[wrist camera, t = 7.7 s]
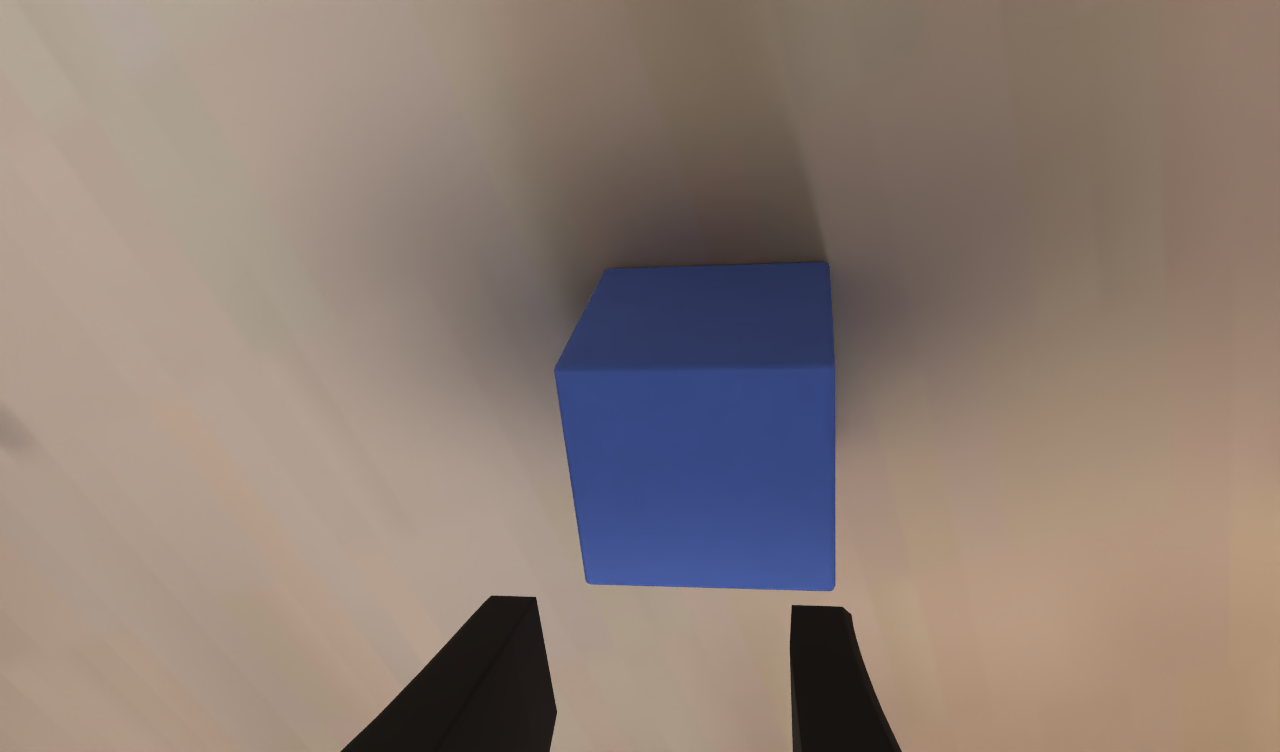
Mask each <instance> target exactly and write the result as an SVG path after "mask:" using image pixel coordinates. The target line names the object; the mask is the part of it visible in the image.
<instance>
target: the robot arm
mask: <svg viewBox="0 0 1280 752" xmlns="http://www.w3.org/2000/svg"><path fill="white" fill-rule="evenodd" d="M790 668H791V702H792V737H793V752H902V751H901V749H900V747H899V745H898V743H897V741H896V738H895V736H894V734H893V732H892V730H891V728H890V726H889V723H888V721H887V719H886V717H885V715H884V713H883V710H882V708H881V706H880V703H879V701H878V699H877V696H876V694H875V691H874V689H873V686H872V683H871V681H870V678H869V676H868V673H867V670H866V668H865V665H864V662H863V659H862V656H861V653H860V650H859V646H858V643H857V639H856V635H855V631H854V627H853V622H852V615H851V614H850V613H849V612H848V611H847V610H845V609H844V608H843V607H833V606H801V605H792V613H791V633H790ZM556 715H557V710H556V704H555V699H554V693H553V688H552V682H551V677H550V671H549V666H548V660H547V655H546V649H545V644H544V638H543V633H542V628H541V622H540V617H539V611H538V606H537V600H536V597H518V596H491V597H489V598H488V599H487V600H486V601H485V602H484V603H483V604H482V606H481V607H480V608H479V609H478V610H477V611H476V612H475V613H474V614H473V615H472V616H471V617H470V618H469V619H468V621H467V622H466V623H465V624H464V625H463V626H462V627H461V628H460V629H459V630H458V632H457V633H456V634H455V635H454V636H453V637H452V638H451V639H450V640H449V641H448V642H447V644H446V645H445V646H444V647H443V648H442V649H441V650H440V651H439V652H438V653H437V654H436V656H435V657H434V658H433V659H432V660H431V661H430V662H429V663H428V664H427V665H426V666H425V667H424V668H423V670H422V671H421V672H420V673H419V674H418V675H417V676H416V677H415V678H414V679H413V680H412V681H411V682H410V683H409V684H408V685H407V686H406V687H405V688H404V689H403V690H402V691H401V692H400V693H399V695H398V696H397V697H396V698H395V699H394V700H393V701H392V702H391V703H390V704H389V705H388V706H387V707H386V708H385V709H384V710H383V711H382V712H381V713H380V714H379V715H378V716H377V717H376V718H375V719H374V720H373V721H372V722H371V723H370V724H369V725H368V726H367V727H366V728H365V729H364V730H363V731H362V732H361V733H359V734H358V735H357V736H356V737H355V738H354V739H353V740H352V741H351V742H350V743H349V744H348V745H347V746H346V747H345V748H344V749H343V750H342V751H340V752H549V751H550V746H551V741H552V736H553V730H554V725H555V720H556Z"/></svg>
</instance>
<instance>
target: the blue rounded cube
mask: <svg viewBox="0 0 1280 752" xmlns="http://www.w3.org/2000/svg"><path fill="white" fill-rule="evenodd" d="M554 373H555V379H556V386H557V393H558V399H559V406H560V413H561V419H562V426H563V433H564V439H565V446H566V452H567V459H568V466H569V472H570V479H571V486H572V492H573V499H574V506H575V512H576V519H577V525H578V532H579V539H580V545H581V552H582V559H583V565H584V572H585V579H586V582H587V583H588V584H599V585H633V586H668V587H703V588H737V589H772V590H806V591H832V590H833V589H834V587H835V356H834V336H833V317H832V298H831V279H830V266H829V264H828V263H827V262H806V263H775V264H744V265H713V266H682V267H651V268H620V269H607V270H605V271H604V273H603V275H602V277H601V279H600V281H599V282H598V284H597V286H596V288H595V290H594V292H593V294H592V296H591V298H590V300H589V302H588V304H587V306H586V308H585V310H584V312H583V314H582V316H581V318H580V320H579V321H578V323H577V325H576V327H575V329H574V331H573V333H572V335H571V337H570V339H569V341H568V343H567V345H566V347H565V349H564V351H563V353H562V355H561V357H560V359H559V360H558V362H557V364H556V366H555V369H554Z"/></svg>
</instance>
